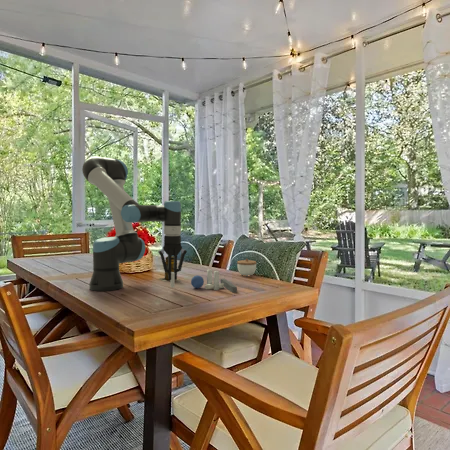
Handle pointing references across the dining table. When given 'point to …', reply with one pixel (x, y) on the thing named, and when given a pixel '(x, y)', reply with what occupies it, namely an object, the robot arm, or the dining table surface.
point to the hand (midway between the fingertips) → (172, 286)
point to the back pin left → (209, 276)
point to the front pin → (211, 286)
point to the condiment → (167, 268)
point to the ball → (197, 281)
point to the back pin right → (216, 280)
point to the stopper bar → (229, 286)
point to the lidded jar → (246, 267)
